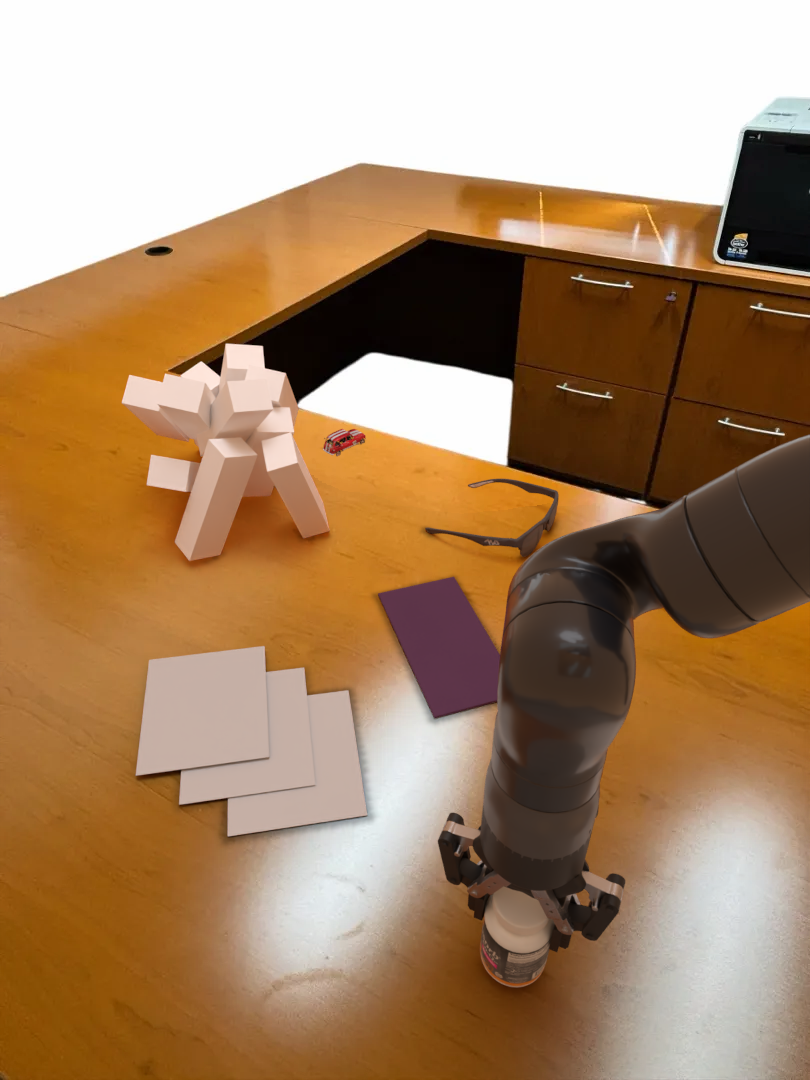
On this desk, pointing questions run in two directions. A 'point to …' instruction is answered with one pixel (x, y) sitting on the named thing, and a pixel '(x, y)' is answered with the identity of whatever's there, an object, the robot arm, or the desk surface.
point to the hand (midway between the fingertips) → (518, 924)
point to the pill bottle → (515, 938)
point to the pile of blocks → (227, 445)
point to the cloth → (444, 645)
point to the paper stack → (251, 740)
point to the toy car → (343, 441)
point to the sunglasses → (526, 540)
